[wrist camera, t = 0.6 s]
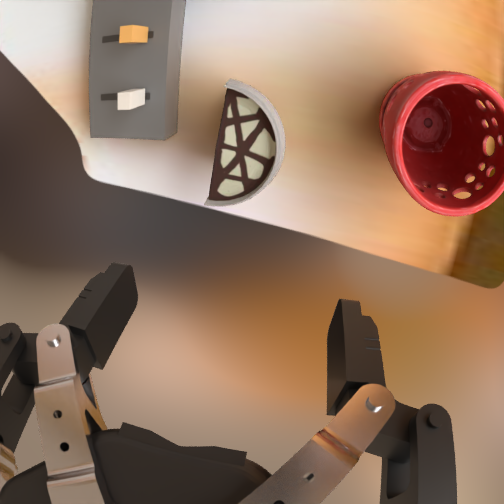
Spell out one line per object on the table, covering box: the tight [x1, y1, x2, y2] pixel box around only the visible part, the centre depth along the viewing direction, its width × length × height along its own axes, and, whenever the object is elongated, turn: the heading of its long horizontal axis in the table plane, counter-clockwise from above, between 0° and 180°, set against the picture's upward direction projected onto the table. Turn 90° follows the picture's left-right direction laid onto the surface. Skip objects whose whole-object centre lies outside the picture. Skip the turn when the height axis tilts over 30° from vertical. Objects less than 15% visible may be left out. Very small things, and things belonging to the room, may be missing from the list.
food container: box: [204, 79, 285, 206], centre depth 31 cm, size 12×6×10 cm, turn 169°
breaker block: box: [89, 0, 186, 140], centre depth 28 cm, size 24×10×4 cm, turn 174°
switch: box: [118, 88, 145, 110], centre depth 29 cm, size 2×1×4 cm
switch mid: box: [119, 25, 148, 43], centre depth 25 cm, size 2×1×4 cm
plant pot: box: [379, 71, 504, 216], centre depth 26 cm, size 13×13×12 cm
